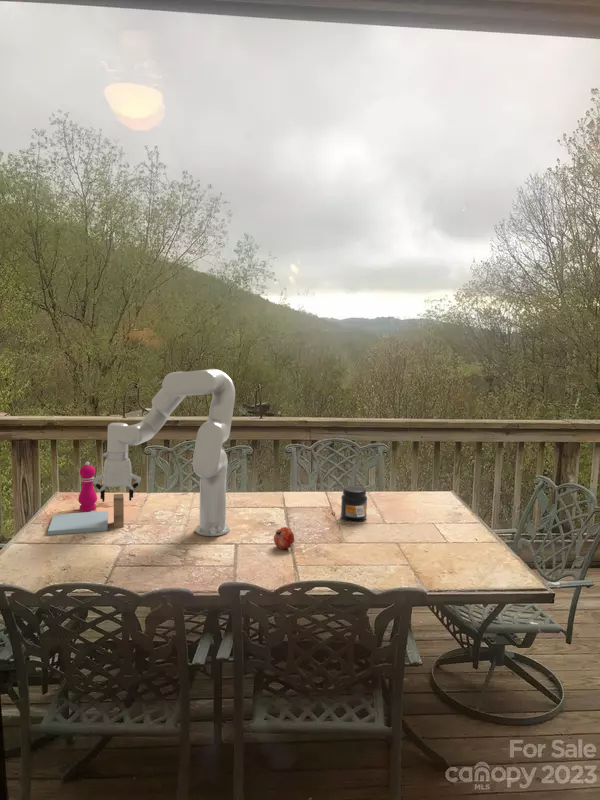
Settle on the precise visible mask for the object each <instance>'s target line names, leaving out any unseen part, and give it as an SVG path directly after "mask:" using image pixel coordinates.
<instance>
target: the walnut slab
mask: <svg viewBox="0 0 600 800" xmlns="http://www.w3.org/2000/svg"><path fill="white" fill-rule="evenodd" d="M124 505H125V504H124V493H114V494H113V529H118V527H120V528H124V525H125V524H124V523H125V519H124V516H125V513H124V511H125V510H124V509H125V508H124V507H125V506H124Z"/></svg>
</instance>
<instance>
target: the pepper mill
mask: <svg viewBox="0 0 600 800" xmlns="http://www.w3.org/2000/svg"><path fill="white" fill-rule="evenodd" d="M95 474H96V468H95V466H92V465H90V461H86V462H85V463H84V466H81V467H80V469H79V475H80V476H81V478H80V482H81V485H82V486H81V490H80V492H79V495H78V499H77V501H78V503H79V504H80V505H79V511H80V510H83V511H82V512H84V511H88V512H90V511H89V510H93V511H95V510H96V509H97V505H96V502H97V501H98V495H97V493H96V491H95V488H94V482H93V479H94V478H95V477H94V476H95ZM94 509H95V510H94Z"/></svg>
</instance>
